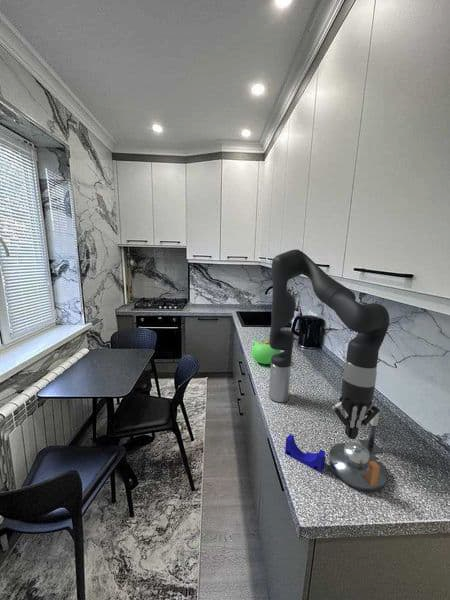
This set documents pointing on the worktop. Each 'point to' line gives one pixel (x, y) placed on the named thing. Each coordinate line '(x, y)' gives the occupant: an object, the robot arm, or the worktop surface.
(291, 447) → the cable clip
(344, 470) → the grey pot lid
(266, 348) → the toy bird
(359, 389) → the robot arm
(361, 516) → the worktop surface
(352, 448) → the cover
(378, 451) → the grey stand with block
